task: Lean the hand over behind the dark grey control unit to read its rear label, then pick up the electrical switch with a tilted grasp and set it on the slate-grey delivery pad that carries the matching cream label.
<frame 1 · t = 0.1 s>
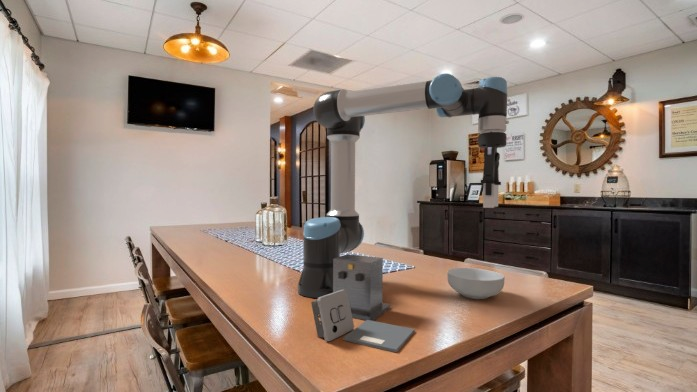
hand: (491, 207, 100), 28 cm above the table, tool pointing down, fingers open, 13 cm apart
pad: (380, 335, 77), on the table
electrical switch: (332, 334, 78), on the table
cereal bowl: (475, 296, 109), on the table
control unit: (357, 309, 94), on the table
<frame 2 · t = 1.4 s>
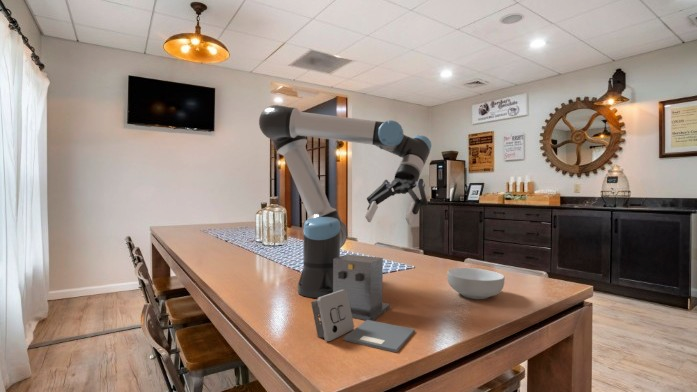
hand: (387, 220, 103), 24 cm above the table, tool tilted 45°, fingers open, 13 cm apart
nothing on the table moved.
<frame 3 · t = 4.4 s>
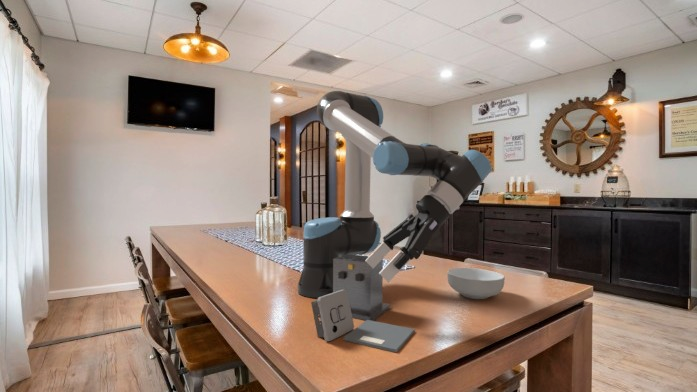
hand: (375, 270, 79), 14 cm above the table, tool tilted 45°, fingers open, 13 cm apart
nothing on the table moved.
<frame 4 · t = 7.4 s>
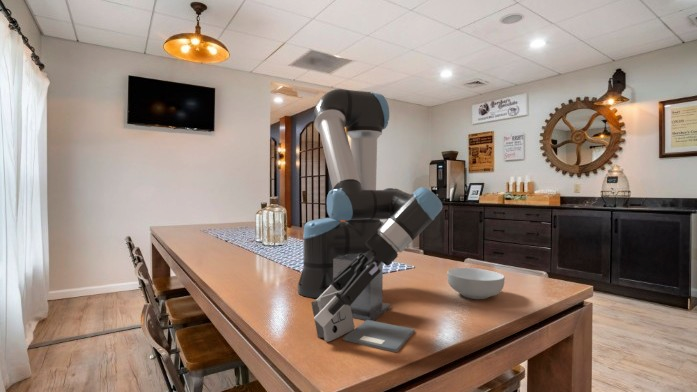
hand: (317, 315, 78), 4 cm above the table, tool tilted 45°, fingers closed on electrical switch, 8 cm apart
electrical switch: (332, 334, 78), on the table, touching gripper
everything else where it was.
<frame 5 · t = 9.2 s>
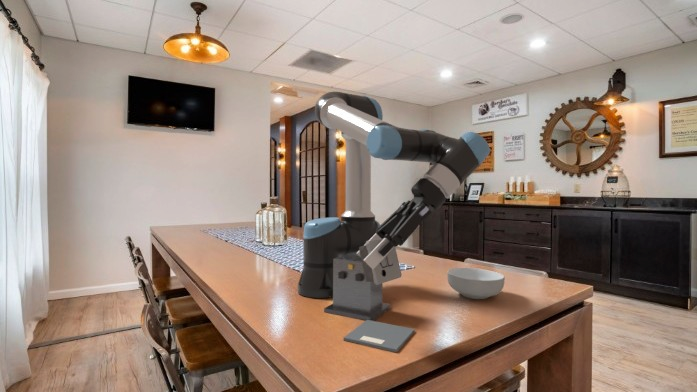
hand: (364, 260, 77), 17 cm above the table, tool tilted 45°, fingers closed on electrical switch, 8 cm apart
electrical switch: (379, 280, 77), point 12 cm above the table, touching gripper
everything else where it was.
when the fingers open (6 cm above the table, at t = 11.6 s): electrical switch drops 1 cm, resting on pad.
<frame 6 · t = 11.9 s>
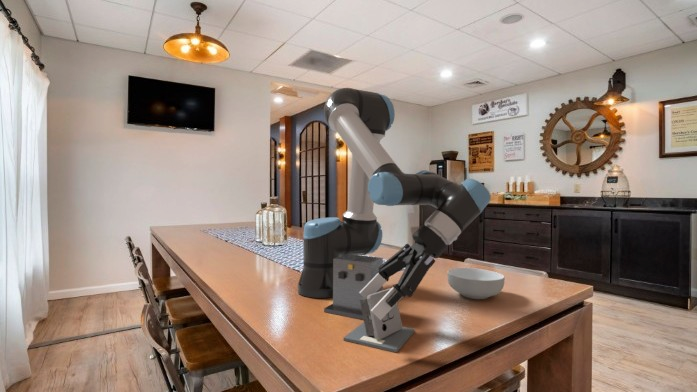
hand: (368, 305, 77), 7 cm above the table, tool tilted 45°, fingers open, 12 cm apart
electrical switch: (380, 333, 78), resting on pad
everything else where it was.
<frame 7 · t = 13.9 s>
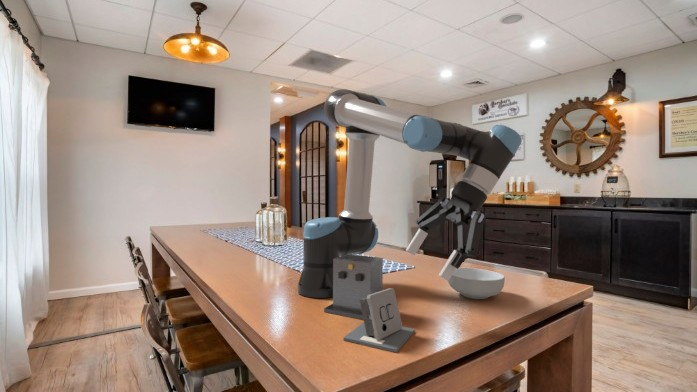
hand: (425, 264, 82), 15 cm above the table, tool tilted 30°, fingers open, 13 cm apart
nothing on the table moved.
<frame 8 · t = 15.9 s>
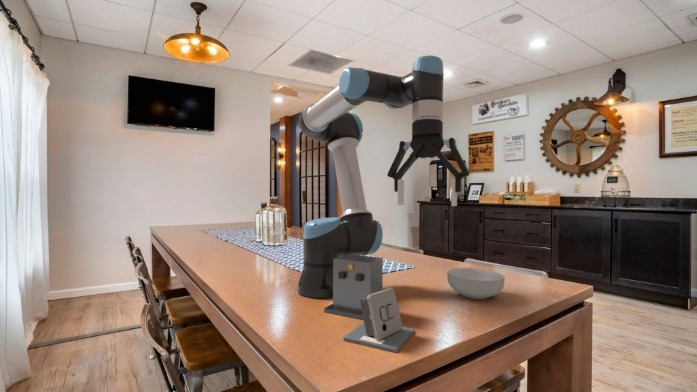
hand: (426, 205, 87), 29 cm above the table, tool pointing down, fingers open, 13 cm apart
nothing on the table moved.
at the end: electrical switch inside the target area on the pad (0.3 cm from its centre), point 0.5 cm above the pad's base; the gripper is holding nothing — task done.
